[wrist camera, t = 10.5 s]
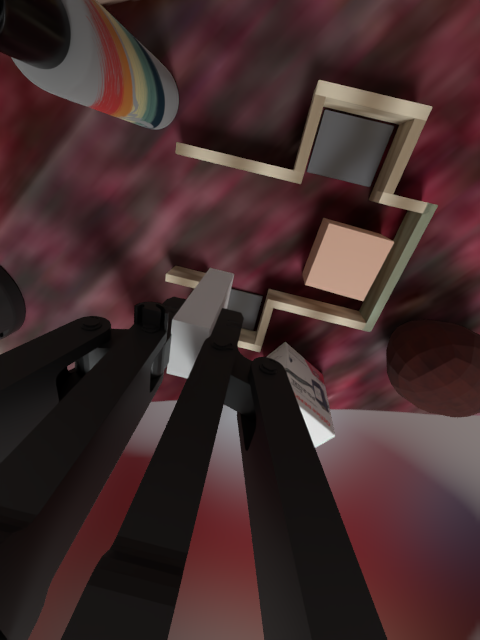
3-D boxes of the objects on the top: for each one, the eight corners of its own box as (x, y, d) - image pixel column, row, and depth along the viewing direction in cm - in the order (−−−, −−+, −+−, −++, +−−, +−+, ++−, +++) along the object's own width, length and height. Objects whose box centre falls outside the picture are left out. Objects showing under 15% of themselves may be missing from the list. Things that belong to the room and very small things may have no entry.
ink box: (324, 373, 42) (338, 438, 32) (300, 390, 44) (306, 455, 34) (285, 340, 40) (287, 397, 30) (262, 358, 42) (256, 418, 32)
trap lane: (170, 316, 40) (161, 327, 37) (194, 62, 26) (183, 47, 23) (342, 359, 40) (348, 374, 37) (459, 125, 26) (483, 119, 23)
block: (302, 272, 35) (305, 284, 31) (323, 217, 32) (329, 223, 28) (353, 287, 35) (363, 301, 31) (380, 233, 32) (394, 241, 28)
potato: (411, 390, 41) (448, 450, 32) (353, 339, 38) (376, 389, 29) (486, 347, 36) (555, 403, 27) (426, 284, 34) (480, 325, 25)
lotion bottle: (136, 134, 30) (-64, 76, 12) (120, 67, 27) (-161, -125, 10) (185, 126, 29) (42, 50, 12) (173, 55, 26) (-34, -179, 9)
